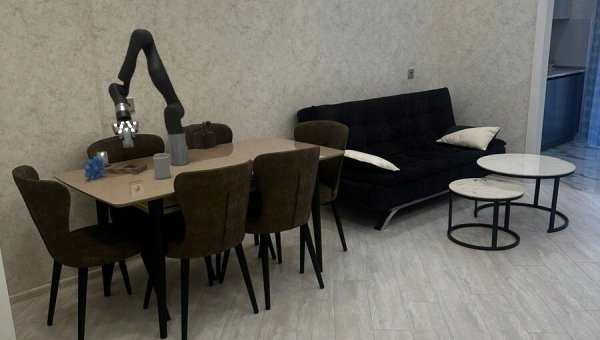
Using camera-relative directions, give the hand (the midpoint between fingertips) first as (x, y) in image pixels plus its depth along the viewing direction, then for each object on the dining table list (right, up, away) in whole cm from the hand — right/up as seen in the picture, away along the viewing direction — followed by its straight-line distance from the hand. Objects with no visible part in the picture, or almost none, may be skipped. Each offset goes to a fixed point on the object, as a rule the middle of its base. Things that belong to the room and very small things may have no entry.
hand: (127, 139), depth 263 cm
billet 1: (-15, -16, +8) cm, 24 cm away
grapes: (-14, -21, -6) cm, 26 cm away
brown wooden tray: (-7, -17, +7) cm, 20 cm away
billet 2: (-1, -4, +3) cm, 4 cm away
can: (+20, -20, -8) cm, 29 cm away
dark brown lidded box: (+29, -1, +67) cm, 73 cm away
